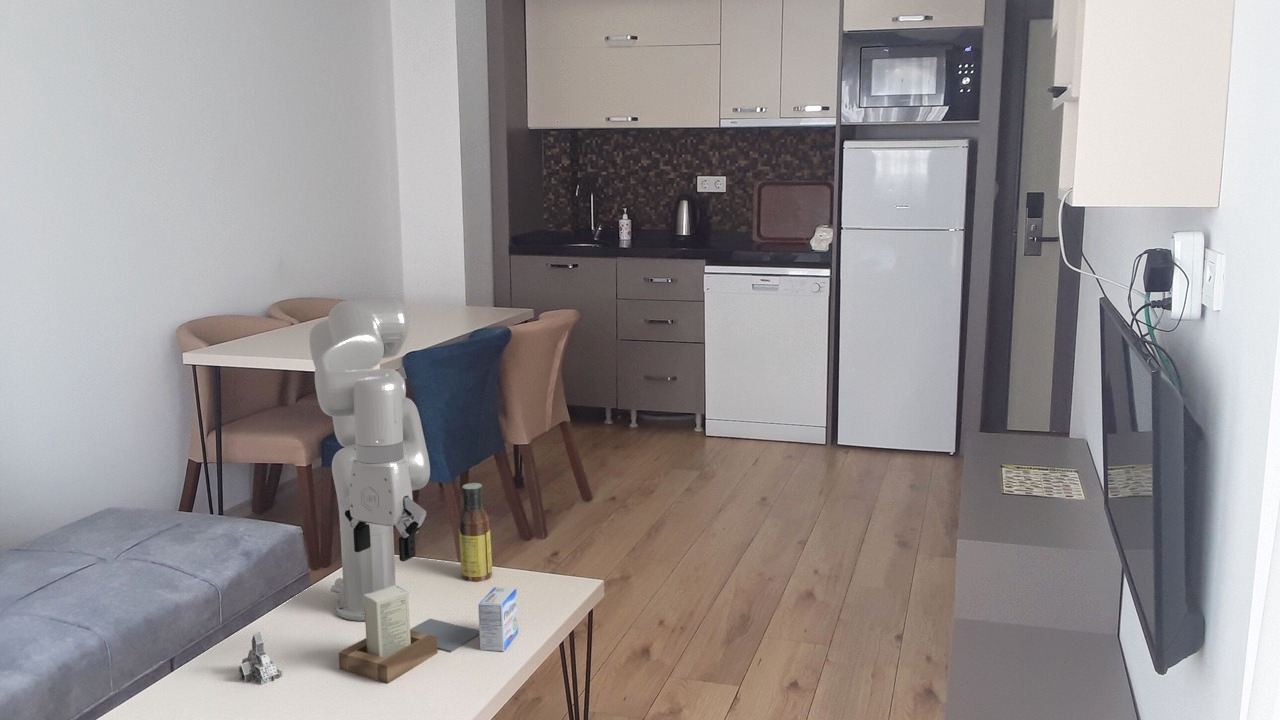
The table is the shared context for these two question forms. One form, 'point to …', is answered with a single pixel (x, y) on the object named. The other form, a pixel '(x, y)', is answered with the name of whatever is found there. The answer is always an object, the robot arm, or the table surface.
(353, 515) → the robot arm
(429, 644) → the walnut holder
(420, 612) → the table surface
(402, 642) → the skincare box
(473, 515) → the sauce bottle
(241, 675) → the grey toy block stack
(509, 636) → the medicine box
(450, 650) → the charcoal mat
